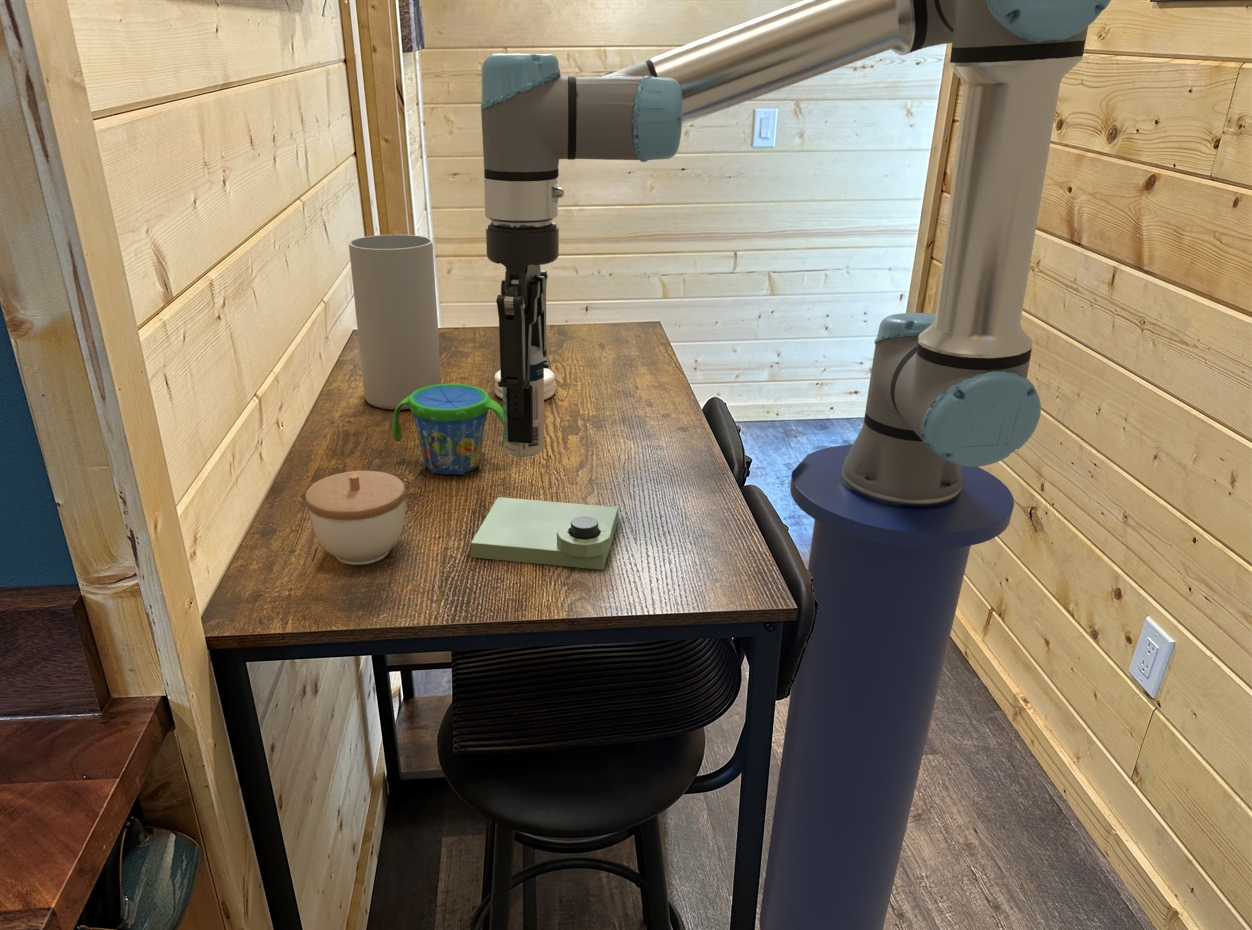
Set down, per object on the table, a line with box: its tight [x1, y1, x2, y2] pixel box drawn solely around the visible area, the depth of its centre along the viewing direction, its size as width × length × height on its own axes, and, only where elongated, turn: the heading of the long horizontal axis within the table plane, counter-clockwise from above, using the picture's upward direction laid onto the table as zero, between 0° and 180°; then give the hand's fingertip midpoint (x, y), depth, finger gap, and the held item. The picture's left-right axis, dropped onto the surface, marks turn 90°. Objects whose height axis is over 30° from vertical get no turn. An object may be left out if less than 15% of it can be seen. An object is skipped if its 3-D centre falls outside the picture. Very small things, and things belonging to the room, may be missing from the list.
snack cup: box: [391, 383, 504, 476], centre depth 123 cm, size 16×10×10 cm
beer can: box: [502, 345, 546, 458], centre depth 102 cm, size 5×5×12 cm
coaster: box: [494, 368, 556, 401], centre depth 151 cm, size 10×10×4 cm
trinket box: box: [304, 470, 406, 566], centre depth 101 cm, size 11×11×9 cm
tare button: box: [571, 516, 598, 540], centre depth 100 cm, size 3×3×2 cm
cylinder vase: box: [348, 234, 442, 411], centre depth 144 cm, size 12×12×25 cm
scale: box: [470, 496, 620, 571], centre depth 105 cm, size 15×13×4 cm
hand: (525, 432), depth 104 cm, fingers closed on beer can, 5 cm apart
